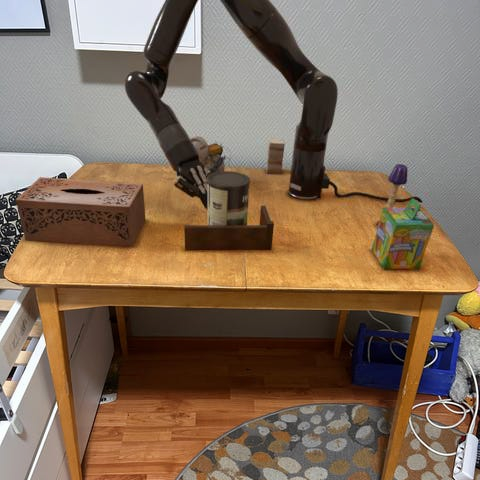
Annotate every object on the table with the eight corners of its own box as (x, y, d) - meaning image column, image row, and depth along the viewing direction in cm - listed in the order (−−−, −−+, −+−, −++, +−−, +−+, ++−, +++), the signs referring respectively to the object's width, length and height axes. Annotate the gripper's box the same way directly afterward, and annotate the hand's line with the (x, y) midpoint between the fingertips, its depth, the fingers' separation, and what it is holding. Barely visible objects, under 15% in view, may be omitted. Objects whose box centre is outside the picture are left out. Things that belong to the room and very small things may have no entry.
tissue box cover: (25, 239, 111) (15, 199, 105) (48, 214, 123) (40, 177, 117) (133, 246, 111) (129, 207, 105) (145, 220, 123) (142, 183, 117)
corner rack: (264, 226, 123) (266, 201, 119) (271, 250, 113) (274, 223, 109) (184, 226, 121) (184, 201, 117) (184, 250, 111) (184, 223, 106)
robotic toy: (168, 183, 144) (166, 133, 135) (212, 172, 154) (212, 124, 145) (194, 197, 137) (193, 144, 128) (238, 184, 146) (240, 134, 137)
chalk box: (370, 250, 115) (384, 193, 106) (406, 250, 116) (423, 193, 107) (382, 270, 108) (398, 209, 99) (420, 270, 109) (440, 210, 100)
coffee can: (248, 225, 123) (251, 172, 115) (245, 243, 115) (248, 187, 107) (209, 221, 124) (210, 169, 115) (203, 239, 116) (203, 184, 107)
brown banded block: (266, 173, 155) (268, 142, 149) (265, 169, 159) (268, 138, 153) (282, 174, 156) (285, 143, 150) (281, 169, 159) (284, 139, 153)
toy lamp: (394, 225, 128) (411, 164, 118) (393, 232, 124) (410, 170, 114) (377, 221, 129) (391, 161, 119) (375, 228, 125) (390, 166, 115)
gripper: (164, 143, 111) (201, 208, 112) (203, 134, 119) (237, 194, 120) (151, 160, 116) (185, 221, 118) (188, 150, 125) (221, 207, 126)
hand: (211, 208), depth 119 cm, fingers closed
